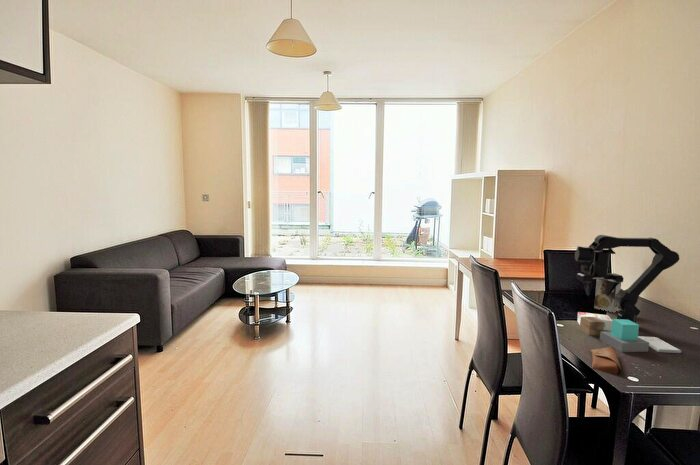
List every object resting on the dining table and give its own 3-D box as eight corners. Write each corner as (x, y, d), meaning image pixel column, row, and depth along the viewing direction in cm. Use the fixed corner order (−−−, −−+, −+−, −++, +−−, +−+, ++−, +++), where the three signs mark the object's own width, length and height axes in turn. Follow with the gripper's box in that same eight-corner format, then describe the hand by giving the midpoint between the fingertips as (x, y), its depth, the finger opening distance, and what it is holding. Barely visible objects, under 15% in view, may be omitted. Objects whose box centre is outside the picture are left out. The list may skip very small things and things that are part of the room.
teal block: (626, 333, 147) (628, 319, 146) (637, 340, 141) (639, 325, 140) (611, 333, 147) (612, 319, 146) (621, 339, 141) (622, 324, 140)
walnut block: (592, 329, 160) (594, 316, 159) (602, 335, 154) (604, 321, 153) (579, 329, 160) (580, 316, 159) (588, 335, 154) (590, 321, 153)
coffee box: (618, 310, 186) (622, 280, 184) (613, 313, 182) (617, 281, 180) (598, 305, 193) (602, 276, 191) (593, 308, 189) (596, 277, 187)
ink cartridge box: (577, 311, 169) (615, 315, 164) (576, 321, 170) (614, 326, 165) (582, 317, 161) (621, 321, 156) (581, 327, 162) (620, 332, 157)
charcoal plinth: (624, 340, 150) (625, 330, 150) (648, 352, 139) (649, 342, 139) (599, 340, 149) (600, 331, 149) (621, 353, 138) (622, 342, 138)
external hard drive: (658, 353, 139) (635, 339, 151) (681, 354, 138) (656, 340, 151) (658, 349, 139) (636, 335, 151) (681, 350, 138) (657, 336, 150)
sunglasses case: (587, 348, 140) (599, 336, 138) (605, 361, 138) (618, 349, 135) (591, 368, 125) (605, 355, 122) (611, 383, 122) (626, 370, 120)
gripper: (608, 259, 175) (604, 290, 177) (570, 258, 174) (567, 290, 176) (626, 264, 164) (622, 297, 166) (585, 263, 163) (582, 297, 165)
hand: (597, 295), depth 169 cm, fingers open, 9 cm apart
